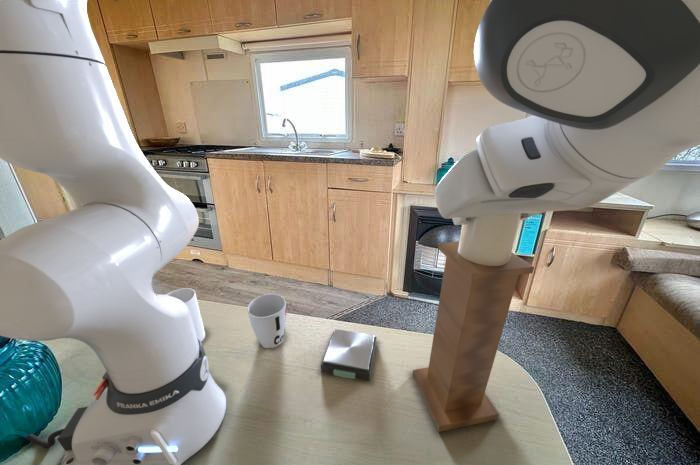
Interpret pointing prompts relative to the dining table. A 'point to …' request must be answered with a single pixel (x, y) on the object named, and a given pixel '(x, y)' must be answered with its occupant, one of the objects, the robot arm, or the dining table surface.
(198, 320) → the mug
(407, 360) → the dining table surface
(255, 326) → the cup
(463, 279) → the stand
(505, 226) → the cream mug
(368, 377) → the scale
